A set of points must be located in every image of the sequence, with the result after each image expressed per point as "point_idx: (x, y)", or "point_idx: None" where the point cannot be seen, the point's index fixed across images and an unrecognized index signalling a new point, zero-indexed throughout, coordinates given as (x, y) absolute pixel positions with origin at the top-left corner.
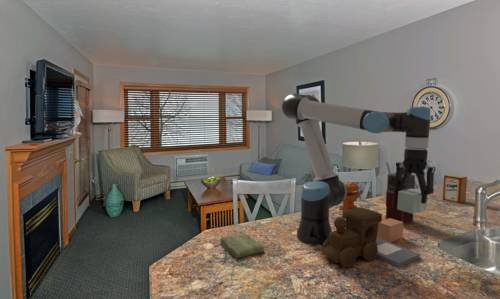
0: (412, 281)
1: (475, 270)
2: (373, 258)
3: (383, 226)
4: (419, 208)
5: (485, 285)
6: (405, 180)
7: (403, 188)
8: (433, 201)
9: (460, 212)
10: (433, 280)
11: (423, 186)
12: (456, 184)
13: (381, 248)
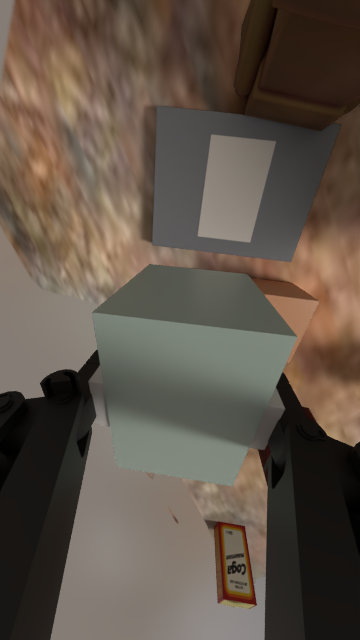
0: (86, 43)
1: (63, 280)
2: (237, 67)
3: (288, 294)
4: None
5: (13, 221)
6: (297, 604)
7: (276, 447)
8: (254, 517)
9: (202, 494)
10: (67, 126)
11: (11, 486)
12: (229, 575)
13: (244, 179)
